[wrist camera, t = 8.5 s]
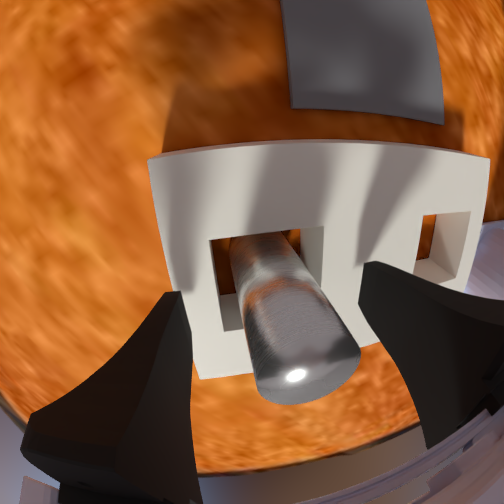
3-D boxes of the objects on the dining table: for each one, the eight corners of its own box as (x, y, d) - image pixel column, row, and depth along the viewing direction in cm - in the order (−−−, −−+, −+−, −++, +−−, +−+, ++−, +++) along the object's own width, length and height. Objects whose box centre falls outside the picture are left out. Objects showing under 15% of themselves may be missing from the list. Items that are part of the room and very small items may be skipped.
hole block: (457, 150, 13) (490, 159, 10) (433, 290, 18) (456, 311, 15) (161, 153, 11) (147, 159, 8) (199, 342, 16) (200, 379, 13)
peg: (286, 220, 13) (370, 322, 6) (286, 273, 15) (349, 390, 8) (226, 226, 13) (254, 346, 6) (231, 280, 14) (258, 412, 7)
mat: (419, -7, 8) (423, -9, 7) (440, 124, 12) (444, 125, 12) (272, -48, 7) (274, -52, 6) (290, 108, 11) (293, 108, 11)
